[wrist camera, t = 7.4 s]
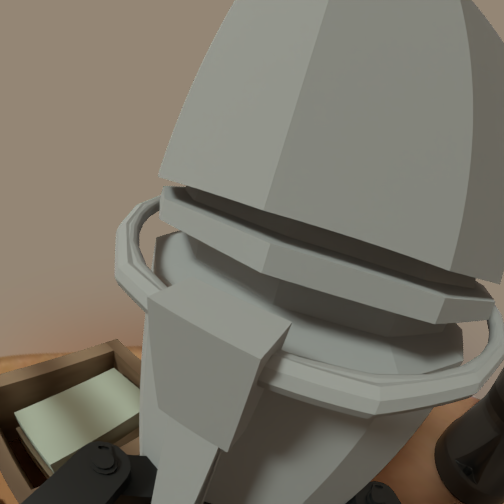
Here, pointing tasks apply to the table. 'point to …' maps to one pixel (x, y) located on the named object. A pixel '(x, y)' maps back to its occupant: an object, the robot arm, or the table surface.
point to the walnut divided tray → (47, 385)
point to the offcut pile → (80, 420)
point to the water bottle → (319, 247)
